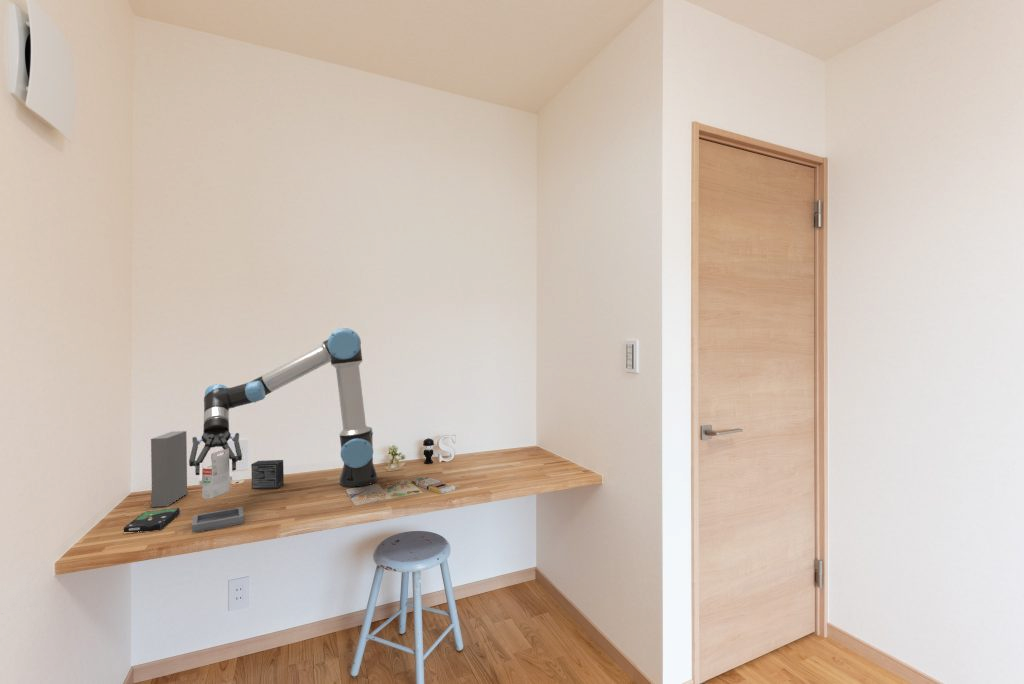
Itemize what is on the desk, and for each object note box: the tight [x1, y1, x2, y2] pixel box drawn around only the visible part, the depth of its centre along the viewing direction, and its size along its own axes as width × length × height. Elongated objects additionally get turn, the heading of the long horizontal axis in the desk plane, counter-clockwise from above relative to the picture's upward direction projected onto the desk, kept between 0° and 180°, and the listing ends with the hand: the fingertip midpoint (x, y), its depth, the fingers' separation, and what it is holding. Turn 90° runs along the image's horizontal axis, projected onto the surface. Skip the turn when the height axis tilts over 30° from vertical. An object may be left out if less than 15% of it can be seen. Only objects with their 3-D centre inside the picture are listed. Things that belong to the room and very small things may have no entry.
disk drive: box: [123, 507, 180, 533], centre depth 154 cm, size 10×3×15 cm
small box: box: [250, 459, 285, 490], centre depth 191 cm, size 11×6×10 cm, turn 94°
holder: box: [191, 506, 244, 534], centre depth 153 cm, size 14×10×2 cm
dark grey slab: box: [149, 430, 189, 508], centre depth 175 cm, size 14×6×25 cm, turn 9°
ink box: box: [201, 448, 231, 500], centre depth 153 cm, size 4×8×15 cm, turn 172°
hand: (216, 480), depth 150 cm, fingers closed on ink box, 7 cm apart
